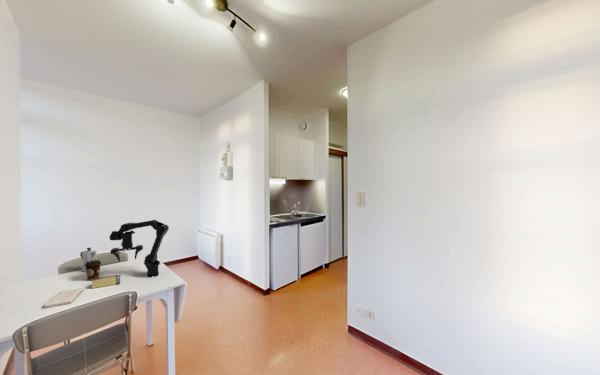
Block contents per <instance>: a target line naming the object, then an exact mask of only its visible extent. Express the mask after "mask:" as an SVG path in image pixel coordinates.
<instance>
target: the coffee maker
mask: <svg viewBox="0 0 600 375" xmlns="http://www.w3.org/2000/svg"><path fill="white" fill-rule="evenodd" d="M86 249H87V250H84V251H81V252H80V255H79V256H80V258H81V260H82V261H83V263H82V268H81V272H82V273H86V266H85V264H86V262H88V261H94V260H96V257H97V256H96V255H97V251H96V250H92V247H87V248H86Z"/></svg>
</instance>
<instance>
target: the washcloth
mask: <svg viewBox="0 0 600 375" xmlns="http://www.w3.org/2000/svg"><path fill="white" fill-rule="evenodd" d="M84 289H85V288H84V287H80V288H76V289H66V290H60V291H59V292H58V293H56V294H54V295H53V296H52V297H51V298H49V300H47V302H45V304H44V305H43V306H44V307H43V308H44V309H46V308H48V307H49V308H54V307H58V306H59V307H60V306H64V305H65V306H66V305H70V304H72V303H74V301H76V299H77V298H78V297H79V296H80V295H81V294H82V293H83V292H84V291H85V290H84Z"/></svg>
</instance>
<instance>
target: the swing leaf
mask: <svg viewBox="0 0 600 375" xmlns="http://www.w3.org/2000/svg"><path fill="white" fill-rule="evenodd" d="M116 275H117V276H116V277H110V278H104V279H98V280H91V289H97V288H102V287H108V286H113V285H114V286H115V285H120V284H121V274H116Z"/></svg>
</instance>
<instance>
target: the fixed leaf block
mask: <svg viewBox="0 0 600 375" xmlns="http://www.w3.org/2000/svg"><path fill="white" fill-rule="evenodd" d="M117 275H118V274H112V275H106V276H99V278H94V280H98V279H104V278H110V277H116V276H117Z"/></svg>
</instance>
